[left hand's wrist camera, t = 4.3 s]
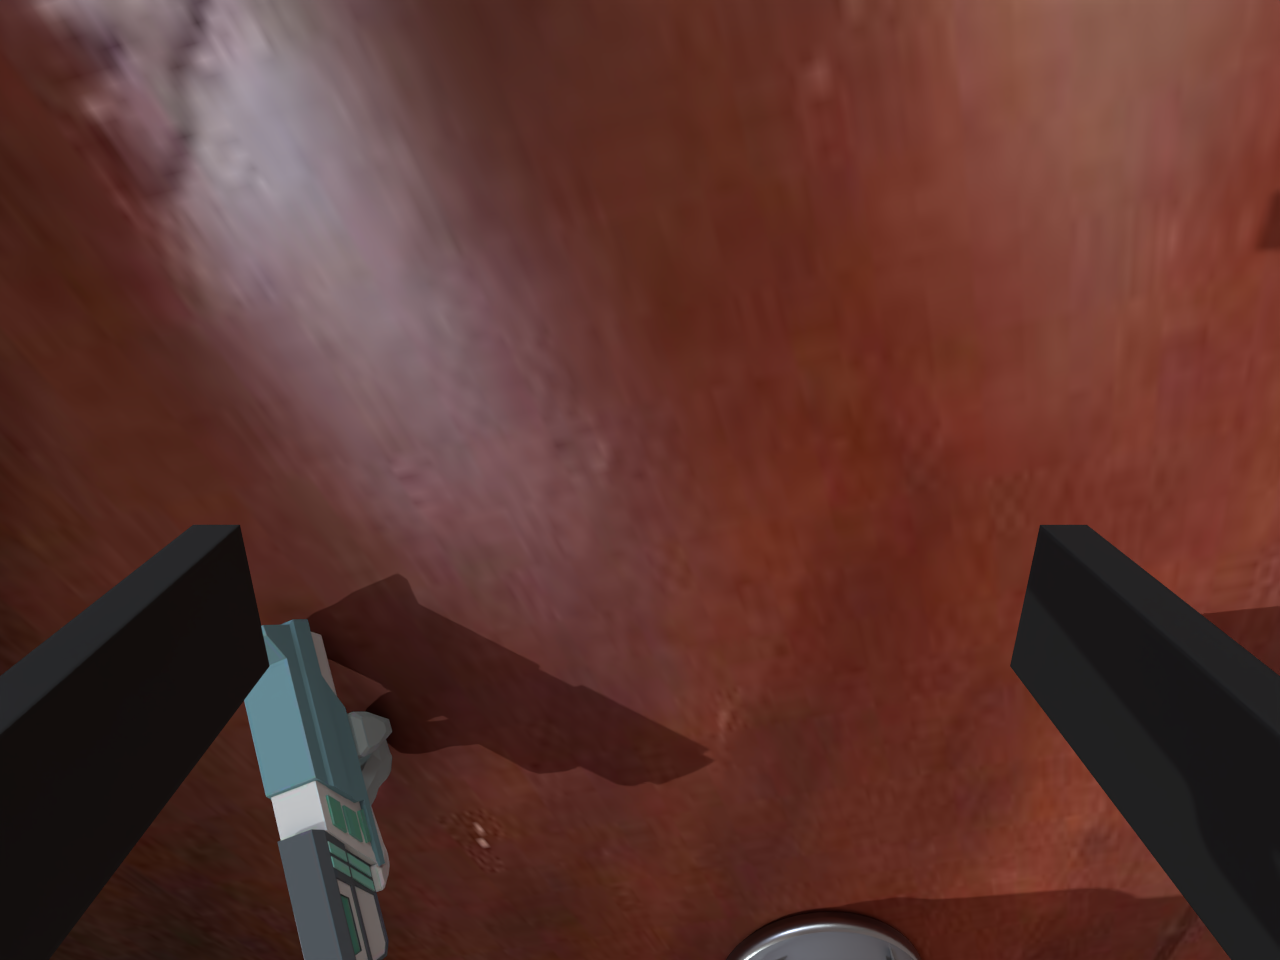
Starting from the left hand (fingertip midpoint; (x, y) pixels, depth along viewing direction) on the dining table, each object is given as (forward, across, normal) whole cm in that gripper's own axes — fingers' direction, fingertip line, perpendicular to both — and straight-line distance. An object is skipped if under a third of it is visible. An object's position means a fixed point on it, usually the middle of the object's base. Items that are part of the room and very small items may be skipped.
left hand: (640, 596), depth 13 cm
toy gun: (+28, +18, +24) cm, 41 cm away
